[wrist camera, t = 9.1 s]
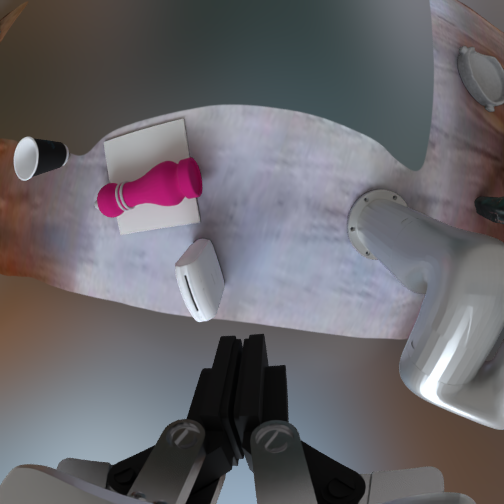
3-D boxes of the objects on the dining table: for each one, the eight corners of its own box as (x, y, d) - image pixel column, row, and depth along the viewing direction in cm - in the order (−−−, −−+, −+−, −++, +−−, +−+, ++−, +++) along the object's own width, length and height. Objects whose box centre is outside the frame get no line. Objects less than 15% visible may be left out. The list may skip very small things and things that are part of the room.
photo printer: (228, 288, 50) (217, 325, 39) (206, 292, 51) (190, 329, 39) (212, 235, 47) (194, 260, 36) (189, 240, 48) (165, 267, 36)
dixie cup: (74, 132, 42) (37, 131, 31) (75, 170, 44) (38, 176, 34) (48, 140, 42) (13, 142, 32) (50, 176, 45) (14, 183, 34)
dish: (445, 50, 32) (458, 44, 27) (481, 50, 30) (494, 45, 25) (471, 114, 36) (486, 113, 31) (504, 108, 34) (518, 107, 29)
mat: (184, 118, 41) (183, 118, 40) (200, 221, 47) (199, 222, 46) (105, 142, 42) (103, 142, 42) (122, 234, 48) (120, 235, 48)
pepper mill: (186, 145, 37) (84, 180, 40) (187, 189, 36) (81, 219, 39) (202, 166, 44) (108, 194, 47) (205, 206, 43) (106, 229, 46)
